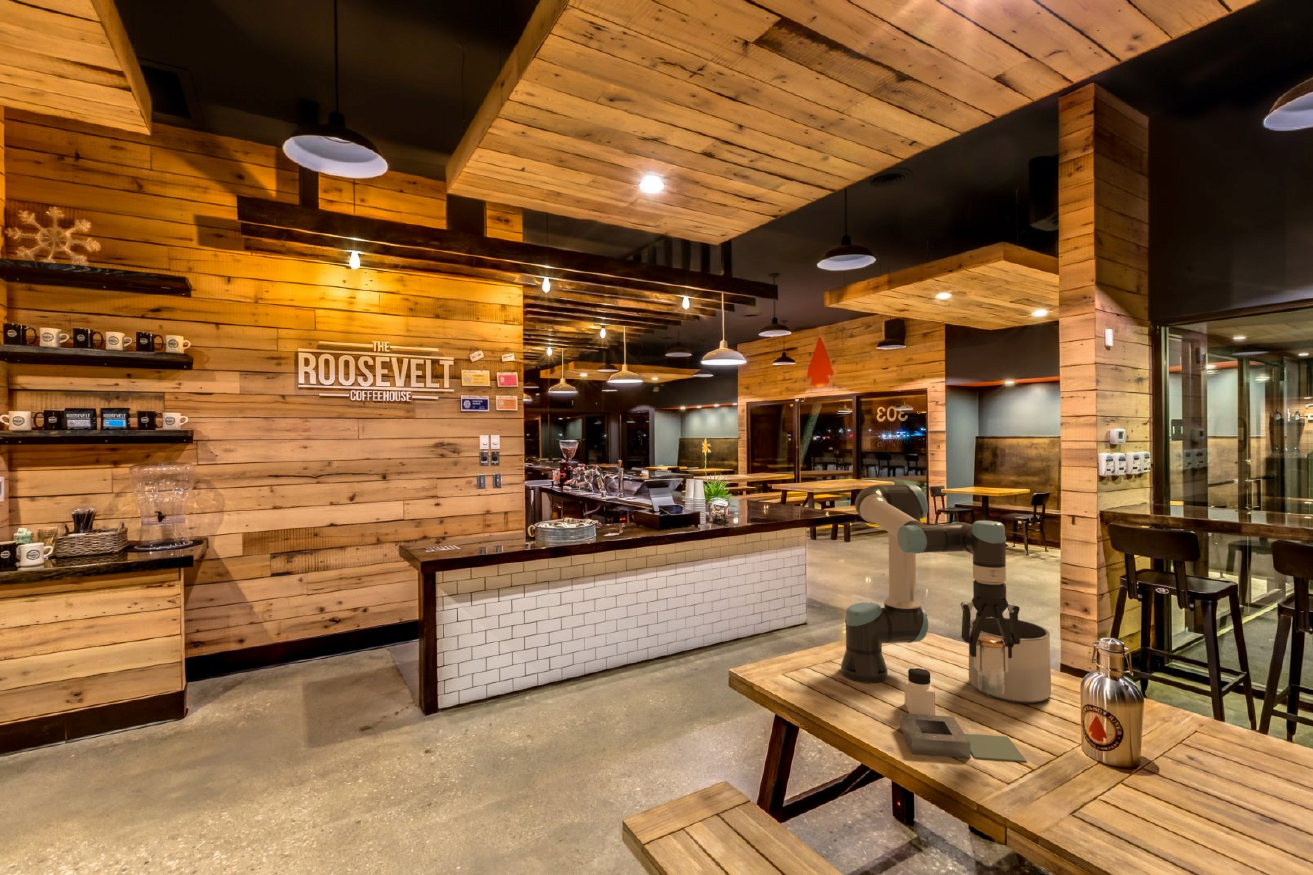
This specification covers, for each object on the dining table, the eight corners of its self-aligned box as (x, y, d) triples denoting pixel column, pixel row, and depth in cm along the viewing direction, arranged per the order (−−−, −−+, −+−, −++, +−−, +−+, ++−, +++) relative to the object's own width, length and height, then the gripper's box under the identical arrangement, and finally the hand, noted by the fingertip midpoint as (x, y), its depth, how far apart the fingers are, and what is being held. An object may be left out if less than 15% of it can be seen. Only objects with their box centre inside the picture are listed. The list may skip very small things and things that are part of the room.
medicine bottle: (935, 716, 175) (935, 675, 174) (909, 714, 176) (908, 673, 176) (929, 705, 182) (928, 665, 181) (904, 703, 183) (903, 664, 183)
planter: (1005, 671, 205) (1004, 613, 205) (1069, 699, 184) (1068, 634, 184) (952, 681, 198) (952, 621, 198) (1013, 711, 177) (1012, 643, 176)
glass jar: (974, 684, 160) (974, 636, 160) (999, 685, 159) (998, 636, 159) (982, 694, 154) (982, 643, 154) (1008, 695, 153) (1007, 644, 153)
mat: (959, 734, 164) (959, 733, 164) (1007, 738, 162) (1007, 736, 162) (974, 758, 152) (974, 756, 152) (1026, 762, 150) (1026, 760, 150)
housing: (900, 727, 168) (899, 713, 168) (953, 730, 166) (953, 716, 166) (912, 753, 155) (911, 738, 155) (970, 758, 152) (970, 742, 152)
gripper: (954, 583, 154) (956, 673, 155) (1035, 585, 151) (1037, 677, 151) (946, 576, 162) (947, 662, 162) (1023, 578, 158) (1024, 665, 158)
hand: (990, 669), depth 156 cm, fingers closed on glass jar, 6 cm apart
